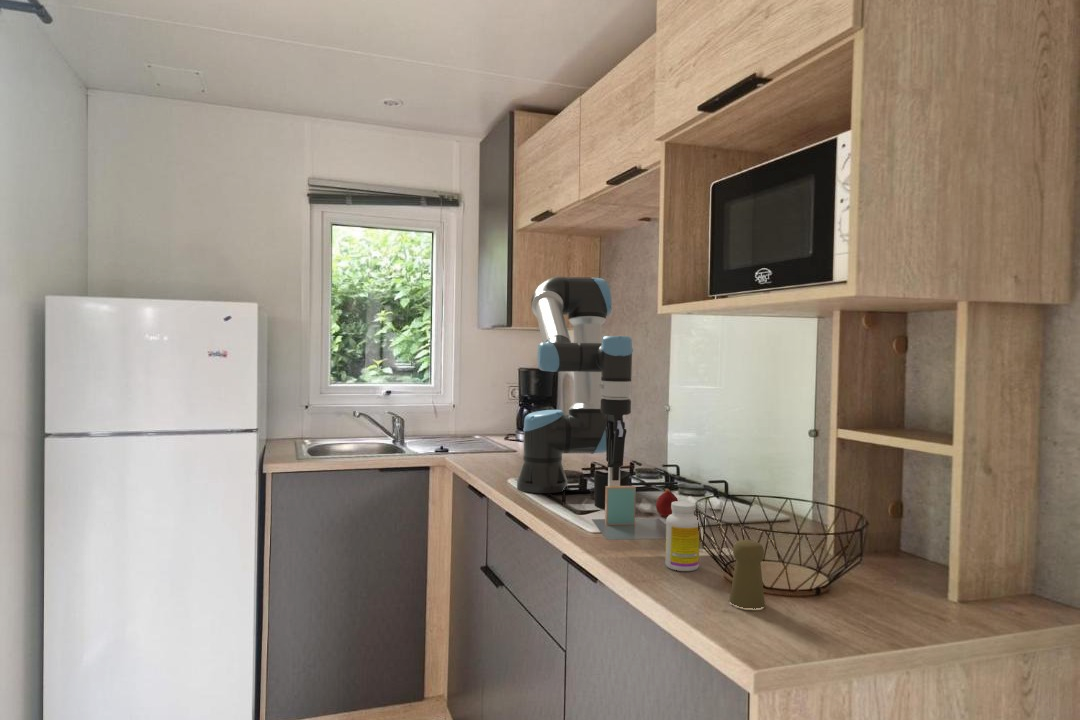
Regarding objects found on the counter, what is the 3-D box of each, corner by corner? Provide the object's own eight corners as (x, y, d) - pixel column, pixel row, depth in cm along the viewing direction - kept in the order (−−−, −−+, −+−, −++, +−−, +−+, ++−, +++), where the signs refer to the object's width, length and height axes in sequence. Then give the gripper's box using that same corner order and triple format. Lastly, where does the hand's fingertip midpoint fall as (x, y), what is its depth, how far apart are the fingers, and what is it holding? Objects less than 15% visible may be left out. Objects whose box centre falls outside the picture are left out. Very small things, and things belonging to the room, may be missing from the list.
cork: (739, 612, 118) (740, 547, 118) (722, 598, 124) (724, 537, 123) (772, 610, 119) (773, 546, 119) (754, 596, 125) (756, 536, 125)
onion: (677, 517, 179) (678, 486, 179) (680, 523, 173) (681, 491, 173) (654, 516, 180) (655, 485, 179) (656, 522, 174) (657, 490, 174)
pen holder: (621, 516, 179) (622, 477, 179) (587, 511, 184) (588, 473, 183) (633, 508, 188) (634, 471, 187) (601, 504, 192) (602, 468, 192)
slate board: (591, 524, 171) (591, 519, 171) (658, 523, 174) (658, 518, 173) (606, 544, 155) (606, 539, 155) (680, 543, 157) (681, 538, 157)
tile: (604, 523, 168) (605, 486, 168) (633, 522, 169) (634, 485, 169) (606, 525, 166) (607, 487, 166) (635, 524, 167) (635, 487, 167)
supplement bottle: (705, 571, 138) (706, 506, 138) (675, 573, 136) (676, 508, 136) (688, 560, 145) (689, 498, 144) (659, 563, 143) (660, 500, 142)
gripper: (595, 395, 179) (593, 487, 180) (606, 400, 166) (604, 498, 167) (624, 395, 180) (622, 486, 181) (637, 400, 167) (635, 498, 168)
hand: (613, 492), depth 174 cm, fingers closed
